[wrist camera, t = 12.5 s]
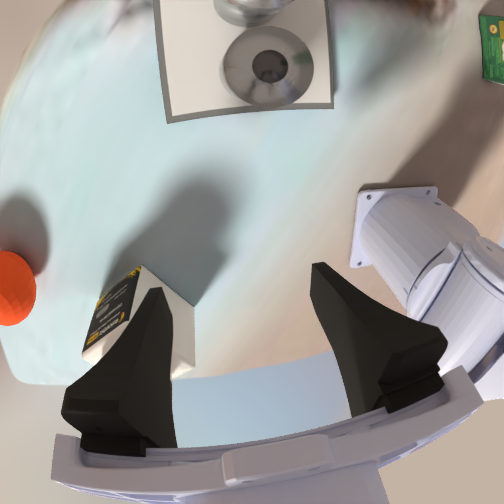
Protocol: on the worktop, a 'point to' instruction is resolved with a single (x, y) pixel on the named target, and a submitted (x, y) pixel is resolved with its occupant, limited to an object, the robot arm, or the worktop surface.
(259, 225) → the worktop surface
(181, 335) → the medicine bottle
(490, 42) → the green cardboard box
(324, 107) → the scale
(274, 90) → the spacer
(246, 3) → the spacer
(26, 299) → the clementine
